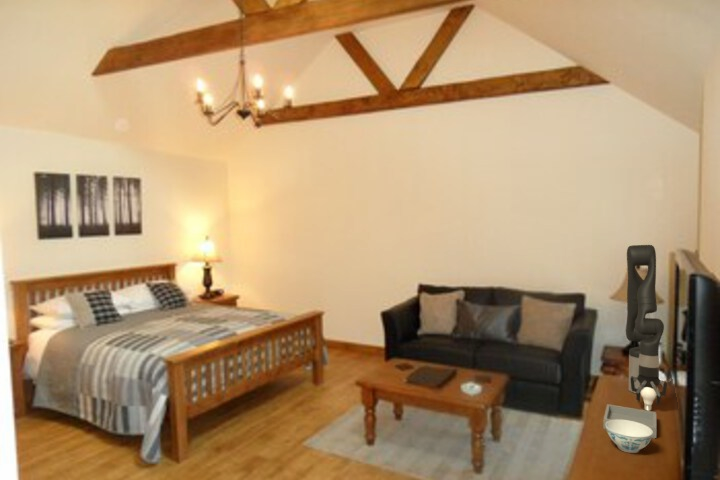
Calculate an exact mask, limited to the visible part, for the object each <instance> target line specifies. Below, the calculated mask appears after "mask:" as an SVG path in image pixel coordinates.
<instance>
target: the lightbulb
mask: <svg viewBox="0 0 720 480" xmlns="http://www.w3.org/2000/svg"><path fill="white" fill-rule="evenodd" d="M640 397H641V398H642V400H643V402H644V404H643V405H644V409H643V410H646V411H652V405H653V403H654V401H655V399H657V394H656V392H655V390H654V389H652V388H649V387H645V388H644V387H643V389H642V390H641V391H640Z"/></svg>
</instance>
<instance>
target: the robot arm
mask: <svg viewBox="0 0 720 480" xmlns="http://www.w3.org/2000/svg"><path fill="white" fill-rule="evenodd" d="M626 266H627V287H626V290H627V291H626V292H627V293H626V302H627V303H626V304H627V307H626V308H627V315H626V316H627V317H626V324H625V325H626V326H625V328H626V329H625V336H626V339H627V340H628V341H630V342H635V343H639V346H636V347H635V346H634V347H631V348H629V352H628V361H629V362H628V391H629V392H631V393H634V394H635V395H636V400H637V402H638V403H641V394H640V391H641V390H642V389H643V387H644V388H645V387H649V388H652V389H654V390H655V392H656V394H657V397H656V405H658V406H659V404H661V400H662V399H661V397H663V396H664V397H665V396H666V394H667V388H668V381H667V380H661V379H660V357H659V352H660V351H659V350H660V349H659V347H660V342H661V340H662V336H663V335H664V330H665V324H664V322H663V320H661V319H660V318H654V317H653V318H650V317H649V318H648V317H646V315H648V314H653V313H656V312H657V310H658V305H657V296H656V293H657V292H656V279H657V253H656V249H655V246H654V245H652V244H639V245H638V244H637V245H636V244H635V245H629V246H627V249H626ZM640 266H641V267H642V266H643V267H644V266H646V267H647V272H646V275H645V278H644V279H643V278H642V276H641V275H640V274H639V272H638V270H637V269H636V267H640ZM660 384H661V386H662V390H661V391H660V390H659V387H658V385H660Z"/></svg>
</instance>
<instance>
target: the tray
mask: <svg viewBox="0 0 720 480" xmlns="http://www.w3.org/2000/svg"><path fill="white" fill-rule="evenodd" d="M603 415H604V416H603V421H602V423H603V427H602V428H603V429H604V430H606V422H607V421H610V420H629V421H634V422H638V423H641V424H643V425H646V426H647V427H649V428H650V429H651V430H652V431H653V435H652V438H651V439H655V438H656V439H657V412H656V411H652V410H650V411H647V410H645V409H639V408H633V407H626V406H620V405H614V404H610V403H609V404H608V403H607V404H606V407H605V411H604V414H603Z"/></svg>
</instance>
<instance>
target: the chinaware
mask: <svg viewBox="0 0 720 480" xmlns="http://www.w3.org/2000/svg"><path fill="white" fill-rule="evenodd" d="M605 430H606V433H607V435H608V436H609V438H610V439H611V441H612V442H613V443H614V444H615V445H616V446H617V448H618V449H619V450H621V451H622V452H625V453H630V454H637V453H639V452H640V450H642V449H643V448H646V446H648V445H649V443H651V440H652V439H653V438H652V435H653V431H652V430H651V429H650V428H649V427H647V426H646V425H643V424H641V423H638V422H634V421H629V420H610V421H607V422H606V429H605Z"/></svg>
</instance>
